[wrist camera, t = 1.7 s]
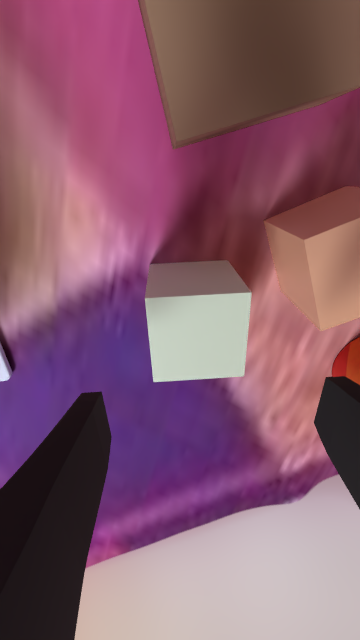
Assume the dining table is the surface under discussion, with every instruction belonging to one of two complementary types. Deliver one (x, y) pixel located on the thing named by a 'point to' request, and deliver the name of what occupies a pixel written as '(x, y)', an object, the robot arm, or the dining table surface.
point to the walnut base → (248, 60)
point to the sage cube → (197, 320)
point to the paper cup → (348, 362)
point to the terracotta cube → (320, 256)
